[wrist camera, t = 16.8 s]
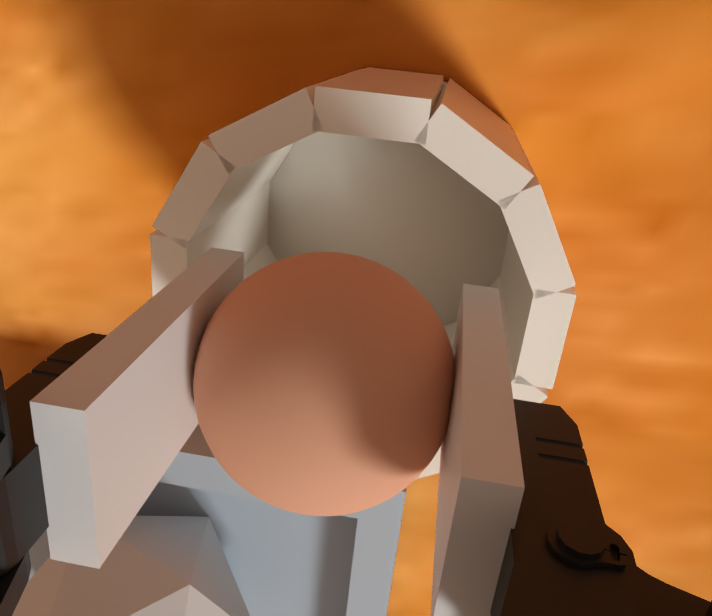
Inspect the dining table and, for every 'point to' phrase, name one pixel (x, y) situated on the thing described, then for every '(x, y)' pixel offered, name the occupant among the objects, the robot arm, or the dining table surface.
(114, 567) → the die
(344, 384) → the ball
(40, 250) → the dining table surface
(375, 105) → the cup
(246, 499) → the tray
